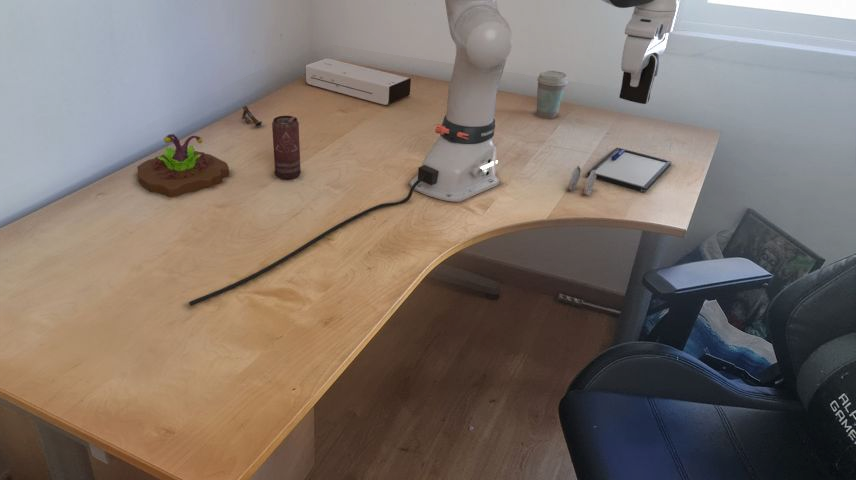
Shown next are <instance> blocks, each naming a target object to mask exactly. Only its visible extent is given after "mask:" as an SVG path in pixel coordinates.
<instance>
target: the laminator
mask: <svg viewBox="0 0 856 480" xmlns="http://www.w3.org/2000/svg"><path fill="white" fill-rule="evenodd" d="M304 77H305V78H304V80H305V83H306V85H308V86H310V87H315V88H318V89H322V90H326V91H328V92H333V93H335V94H339V95H344V96H346V97H347V96H348V97H352V98H355V99H358V100H362V101H366V102H369V103H373V104H377V105H381V106H385V107H387V106H389V105H391V104H393V103H396V102H397V101H400V100H402V99H404V98H406V97H407V98H408V97H410V95H411V86H412V85H411V84H412V79H411V78H410V77H407V76H402V75H399V74H394V73H391V72H386V71H382V70H378V69H375V68H374V69H373V68H369V67H366V66H361V65H357V64H353V63H348V62H343V61H341V60H336V59H332V58H328V57H326V58H323V59H319V60H316V61H314V62H310V63H307V64H305V65H304Z"/></svg>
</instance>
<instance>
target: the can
mask: <svg viewBox="0 0 856 480" xmlns="http://www.w3.org/2000/svg"><path fill="white" fill-rule="evenodd" d="M299 125H300V124H299V121H298V118H297V117H296V116H293V115H279V116H276V117H274V118H273V120H272V123H271V128H272V144H273V160H274V161H273V162H274V174H275V176H276V177H277V179H279V180H284V181H291V180H295V179H297V178H299V177H300V175H301V173H302V171H301V150H300V149H301V146H300V126H299Z"/></svg>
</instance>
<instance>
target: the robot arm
mask: <svg viewBox="0 0 856 480" xmlns="http://www.w3.org/2000/svg"><path fill="white" fill-rule="evenodd" d="M601 1H602V2H604V3H606V4H608V5H610V6H613V7H615V8H619V9H626V8H634V9H633V13H632V14H631V18H630V19H629V21H628V22H627V24H626V25H625V29H624V35H626V38H625V41H624V45H623V50H622V57H621V63H620V65H621V66H620V67H621V71H622V72H623V73H624V72H628V73H631V82H630V86H633V87H637V86H638V85H639V84H640V81H641V78H640V77H641V72H642V70H643V69H644V68H645V67H646V66H648V64H649V60H650V56H651V55H652V54H653V53H654V52H655V53H657V54H658V55H659V57H662V56H663V55H664V53H665V50H666V47H667V42H668V38H669V33H672V31H673V30H674V25H675V22H676V17H677V14H678V10H679V0H601ZM444 3H445V4H444V5H445V11H446V18H447V22H448V23H447V24H448V29H449V34H450V37H451V39H452V42H454V45H455V59H454V64H453V69H452V73H451V77H450V80H449V82H448V89H447V99H446V100H447V101H446V112H445V115H444V117H443V120H442V122H441V124H437V125H436V126H435V129H434V132H435V134H439V136H438V138H437V140H436V141H435V142H434V144H433V145H432V147H431V149H430V150H429V151H428V153H427V154H426V156H425V158H424V159H423V161H422V165H421V166H418V169H417V170H418V171H417V174H416V175H415V176H414V177H413V178H412V180H410V182H409V186H410V188H409V192H408V195H407V196H406V197H405V198H403V199H402V200H400V201H396V202H386V203H381V204H377V205H375V206H372V207H370V208H368V209H366V210H363V211H361V212H359V213H357V214H355V215H353V216H351V217H350V218H347V219H346V220H344V221H342V222H340V223H338V224H337V225H334V226H333V227H331V228H329V229H328V230H326V231H324V232H323V233H321V234H319V235H318V236H316V237H315V238H313V239H311V240H309V241H308V242H307V243H305V244H303V245H301V246H300V247H298V248H297V249H295V250H294V251H292V252H290V253H289V254H287V255H285V256H283V257H282V258H279V259H278V260H277V261H275V262H273V263H271V264H270V265H268V266H266V267H264V268H262V269H260V270H259V271H256V272H254V273H252V274H251V275H248V276H247V277H244V278H242V279H240V280H239V281H235V282H234V283H232V284H230V285H229V284H228V285H227V286H225V287H222V288H220V289H218V290H215V291H213V292H211V293H208V294H206V295H203V296H200V297H198V298H195V299H194V300H191V301H189V302H188V304H189V306H193V305H197V304H198V303H201V302H203V301H206V300H208V299H211V298H213V297H216V296H218V295H221V294H223V293H225V292H227V291H230V290H232V289H234V288H237V287H238V286H241V285H243V284H245V283H247V282H249V281H251V280H253V279H255V278H257V277H259V276H262V275H263V274H265V273H266V272H269V271H270V270H271V269H273V268H275V267H277V266H279V265H281V264H282V263H284V262H286V261H288V260H289V259H290V258H292V257H294V256H295V255H297V254H299V253H300V252H302V251H303V250H305V249H306V248H308V247H310V246H312V245H313V244H315V243H316V242H318V241H320V240H321V239H323V238H325V237H326V236H327V235H329V234H331V233H333V232H334V231H336V230H338V229H340V228H341V227H343V226H345V225H347V224H349V223H350V222H353V221H354V220H357V219H358V218H360V217H362V216H364V215H366V214H369V213H371V212H373V211H375V210H378V209H381V208H385V207H393V206H397V205H402V204H405V203H406V202H408V201H409V200H410V199H411V197H412V195H413V193H414V191H416V192H418V193H420V194H422V195H425V196H427V197H431V198H434V199H437V200H441V201H446V202H454V203H456V202H457V203H461V202H463V201H466V200H468V199H470V198H472V197H474V196H476V195H478V194H481V193H484V192H486V191H488V190H491V189H492V188H494V187H497V186H499V185H500V179H499V178H498V177H497V176H496V171H497V170H496V169H497V164H498V162H499V160H497V154H498V153H497V147H496V146H495V143H494V139H493V137H494V135H495V130H496V119H495V115H496V114H495V113H496V105H497V99H498V93H499V92H498V91H499V86H500V82H501V78H502V76H503V73H504V69H505V66H506V63H507V58H508V57H509V56H510V53H511V50H512V46H513V36H512V35H513V34H512V30H511V27H510V24H509V23H508V21H507V20H506V19H505V18H504V17H503V15H502V14H501V12H500V10H499V7H498V1H497V0H444Z"/></svg>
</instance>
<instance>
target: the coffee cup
mask: <svg viewBox="0 0 856 480" xmlns="http://www.w3.org/2000/svg"><path fill="white" fill-rule="evenodd" d="M536 80H537V93H536V113H535V114H536V116H537V117H539V118H543V119H554V118H556V117H557V115H558V112H559V109H560V105H561V103H562V99H563V96H564V92H565V89H566V86H567V85H568V84H569V83H568V81H569V80H568V75H567V74H566V73H564V72H562V71H557V70H543V71H541V72H540V73H539V75H538V77H537V79H536Z"/></svg>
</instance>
